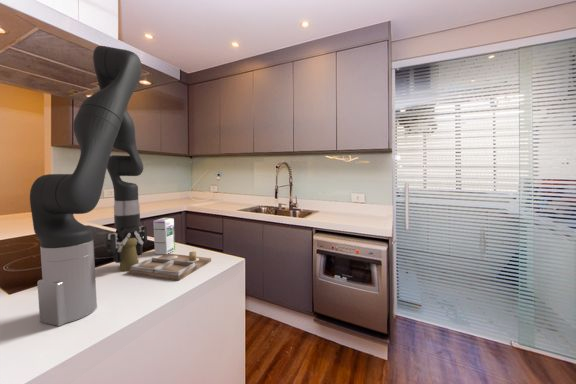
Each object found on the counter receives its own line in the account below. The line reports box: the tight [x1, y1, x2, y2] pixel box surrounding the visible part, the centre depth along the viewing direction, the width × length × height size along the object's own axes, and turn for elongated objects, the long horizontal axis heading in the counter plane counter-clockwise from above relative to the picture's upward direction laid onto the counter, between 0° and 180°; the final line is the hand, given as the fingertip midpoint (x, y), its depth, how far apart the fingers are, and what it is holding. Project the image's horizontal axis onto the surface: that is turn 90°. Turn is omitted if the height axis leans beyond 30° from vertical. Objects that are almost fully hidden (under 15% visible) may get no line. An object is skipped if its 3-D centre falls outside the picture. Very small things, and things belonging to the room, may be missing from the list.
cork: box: [118, 238, 140, 272], centre depth 86 cm, size 6×6×11 cm
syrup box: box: [152, 217, 176, 255], centre depth 103 cm, size 6×6×14 cm
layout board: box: [127, 251, 212, 281], centre depth 87 cm, size 18×20×4 cm
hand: (129, 258), depth 86 cm, fingers open, 7 cm apart
